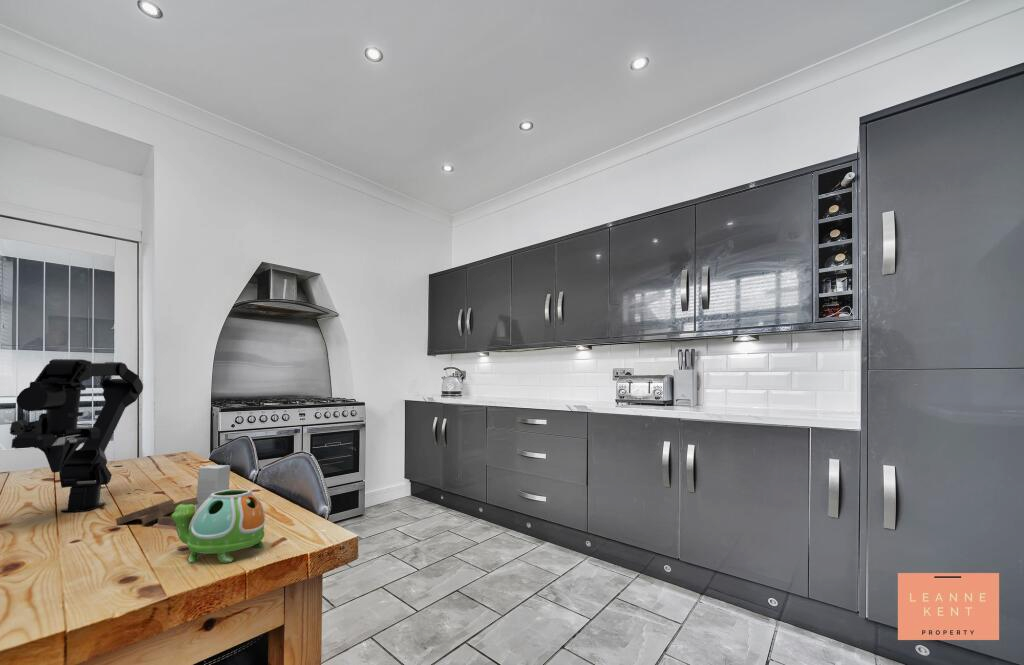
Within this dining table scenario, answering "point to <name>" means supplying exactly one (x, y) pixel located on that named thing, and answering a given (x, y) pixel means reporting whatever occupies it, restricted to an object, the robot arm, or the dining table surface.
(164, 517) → the domino
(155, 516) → the domino
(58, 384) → the robot arm
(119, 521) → the domino
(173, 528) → the domino end
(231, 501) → the turtle holder
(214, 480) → the skincare box
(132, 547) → the dining table surface
